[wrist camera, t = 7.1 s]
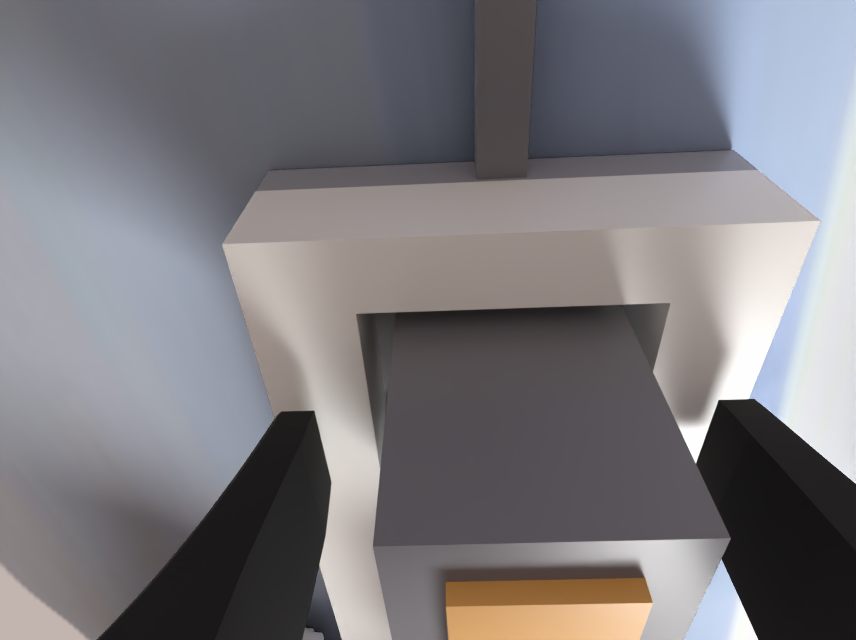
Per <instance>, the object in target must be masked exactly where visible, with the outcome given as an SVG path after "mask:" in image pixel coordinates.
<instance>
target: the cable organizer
mask: <svg viewBox="0 0 856 640" xmlns="http://www.w3.org/2000/svg"><path fill="white" fill-rule="evenodd" d="M302 640H324V636H323V634H322V633H318V632H315V631H314V629H313V628H305V630H304V635H303V639H302Z"/></svg>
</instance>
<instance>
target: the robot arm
mask: <svg viewBox="0 0 856 640" xmlns="http://www.w3.org/2000/svg"><path fill="white" fill-rule="evenodd" d="M696 465H697V467H698V469H699V471H700V474H701V476H702V478H703V480H704V482H705V484H706V486H707V489H708V491H709V493H710V495H711V497H712V499H713V501H714V503H715V506H716V508H717V510H718V512H719V514H720V516H721V518H722V521H723V523H724V525H725V527H726V529H727V531H728V533H729V535H730V538H731V539H730V541H729V543H728V546H727V548H726V550H725V552H724V554H723V556H722V561H723V563H724V565H725V567H726V570H727V572H728V574H729V576H730V578H731V581H732V583H733V585H734V587H735V589H736V592H737V594H738V596H739V598H740V600H741V602H742V605H743V607H744V609H745V611H746V613H747V616H748V618H749V620H750V622H751V624H752V626H753V629H754V631H755V633H756V635H757V637H758V640H856V484H855V483H854V482H853V481H852V480H850V479H849V478H848V477H847V476H845V475H844V474H843V473H842V472H841V471H839V470H838V469H837V468H836V467H835V466H833V465H832V464H831V463H830V462H829V461H828V460H826V459H825V458H824V457H823V456H822V455H820V454H819V453H818V452H817V451H816V450H815V449H813V448H812V447H811V446H810V445H809V444H807V443H806V442H805V441H804V440H803V439H802V438H800V437H799V436H798V435H797V434H796V433H794V432H793V431H792V430H791V429H790V428H789V427H787V426H786V425H785V424H784V423H783V422H782V421H780V420H779V419H778V418H777V417H776V416H774V415H773V414H772V413H771V412H770V411H768V410H767V409H766V408H765V407H763V406H762V405H761V404H760V403H758V402H757V401H756V400H755V399H733V400H718V403H717V406H716V409H715V411H714V414H713V417H712V420H711V423H710V425H709V428H708V431H707V434H706V436H705V439H704V442H703V445H702V447H701V450H700V453H699V456H698V459H697V461H696ZM331 483H332V482H331V478H330V474H329V469H328V465H327V461H326V457H325V453H324V449H323V444H322V440H321V436H320V432H319V428H318V424H317V419H316V415H315V411H281V412H280V413H279V414H278V415H277V416H276V418H275V419H274V421H273V422H272V424H271V425H270V427H269V428H268V430H267V431H266V433H265V434H264V436H263V437H262V438H261V440H260V441H259V443H258V444H257V446H256V447H255V449H254V450H253V452H252V453H251V455H250V456H249V457H248V459H247V460H246V462H245V463H244V465H243V466H242V467H241V469H240V470H239V472H238V473H237V474H236V476H235V477H234V479H233V480H232V481H231V483H230V484H229V485H228V487H227V488H226V489H225V491H224V492H223V493H222V495H221V496H220V497H219V499H218V500H217V501H216V503H215V504H214V505H213V507H212V508H211V509H210V511H209V512H208V513H207V515H206V516H205V517H204V519H203V520H202V521H201V522H200V524H199V525H198V526H197V527H196V529H195V530H194V531H193V532H192V533H191V535H190V536H189V537H188V538H187V540H186V541H185V542H184V543H183V544H182V546H181V547H180V548H179V549H178V551H177V552H176V553H175V554H174V555H173V557H172V558H171V559H170V560H169V562H168V563H167V564H166V565H165V566H164V567H163V569H162V570H161V571H160V572H159V573H158V574H157V575H156V577H155V578H154V579H153V580H152V581H151V582H150V583H149V585H148V586H147V587H146V588H145V589H144V590H143V591H142V592H141V594H140V595H139V596H138V597H137V598H136V599H135V600H134V601H133V602H132V603H131V604H130V605H129V607H128V608H127V609H126V610H125V611H124V612H123V613H122V614H121V615H120V616H119V617H118V618H117V619H116V621H115V622H114V623H113V624H112V625H111V626H110V627H109V628H108V629H107V630H106V631H105V632H104V633H103V634H102V635H101V636H100V637H99V638H98V639H97V640H302V639H303V635H304V630H305V626H306V621H307V617H308V613H309V608H310V604H311V599H312V595H313V591H314V586H315V582H316V577H317V573H318V568H319V564H320V559H321V555H322V550H323V546H324V541H325V536H326V529H327V520H328V512H329V502H330V492H331Z"/></svg>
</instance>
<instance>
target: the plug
mask: <svg viewBox="0 0 856 640" xmlns="http://www.w3.org/2000/svg"><path fill="white" fill-rule="evenodd" d="M730 539H731V538H730V535H729V533H728V531H727V529H726V527H725V525H724V523H723V521H722V518H721V516H720V514H719V512H718V510H717V508H716V506H715V503H714V501H713V499H712V497H711V495H710V493H709V491H708V489H707V486H706V484H705V482H704V480H703V478H702V476H701V474H700V471H699V469H698V467H697V465H696V463H695V461H694V459H693V457H692V454H691V452H690V450H689V448H688V446H687V444H686V442H685V439H684V437H683V435H682V433H681V431H680V429H679V427H678V424H677V422H676V420H675V418H674V416H673V414H672V412H671V410H670V407H669V405H668V403H667V401H666V399H665V397H664V395H663V392H662V390H661V388H660V386H659V384H658V382H657V380H656V378H655V375H654V373H653V371H652V369H651V367H650V365H649V363H648V360H647V358H646V356H645V354H644V352H643V350H642V348H641V346H640V343H639V341H638V339H637V337H636V335H635V333H634V331H633V328H632V326H631V324H630V322H629V320H628V318H627V316H626V313H625V311H624V309H623V307H622V305H596V306H567V307H537V308H508V309H479V310H449V311H420V312H396V314H395V324H394V334H393V344H392V355H391V365H390V375H389V385H388V395H387V406H386V416H385V426H384V436H383V447H382V457H381V467H380V477H379V488H378V498H377V508H376V518H375V528H374V539H373V550H374V555H375V560H376V565H377V570H378V574H379V579H380V584H381V589H382V594H383V599H384V603H385V608H386V613H387V618H388V623H389V628H390V632H391V637H392V640H684V639H685V636H686V634H687V632H688V630H689V628H690V626H691V623H692V621H693V619H694V617H695V615H696V613H697V610H698V608H699V606H700V604H701V602H702V600H703V597H704V595H705V593H706V591H707V589H708V587H709V584H710V582H711V580H712V578H713V576H714V574H715V571H716V569H717V567H718V565H719V563H720V561H721V559H722V556H723V554H724V552H725V550H726V548H727V546H728V543H729V541H730Z"/></svg>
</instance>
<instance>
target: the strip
mask: <svg viewBox="0 0 856 640" xmlns="http://www.w3.org/2000/svg"><path fill="white" fill-rule="evenodd" d="M536 12H537V0H474V161H472V162H449V163H427V164H404V165H381V166H359V167H336V168H313V169H291V170H269V171H268V172H267V174H266V175H265V177H264V179H263V180H262V182H261V183H260V185H259V186H258V188H257V190H256V191H255V193H254V194H253V196H252V198H251V199H250V201H249V202H248V204H247V205H246V207H245V209H244V210H243V212H242V213H241V215H240V216H239V218H238V220H237V221H236V223H235V224H234V226H233V228H232V229H231V231H230V232H229V234H228V235H227V237H226V239H225V240H224V242H223V243H222V246H223V250H224V253H225V256H226V259H227V263H228V266H229V269H230V273H231V276H232V279H233V283H234V286H235V289H236V292H237V296H238V299H239V302H240V306H241V309H242V312H243V315H244V319H245V322H246V325H247V329H248V332H249V335H250V338H251V342H252V345H253V348H254V352H255V355H256V358H257V362H258V365H259V368H260V371H261V375H262V378H263V381H264V385H265V388H266V391H267V394H268V398H269V401H270V404H271V408H272V411H273V414H274V417H275V418H276V416H277V415H278V414H279V413H280V412H281V411H315V415H316V419H317V424H318V428H319V432H320V436H321V440H322V444H323V449H324V453H325V457H326V461H327V465H328V469H329V474H330V478H331V482H332V483H331V492H330V502H329V512H328V520H327V529H326V536H325V541H324V546H323V550H322V555H321V559H320V564H319V566H320V569H321V572H322V575H323V579H324V582H325V585H326V589H327V592H328V595H329V599H330V602H331V605H332V608H333V612H334V615H335V618H336V622H337V625H338V628H339V631H340V635H341V638H342V640H392V637H391V632H390V628H389V623H388V618H387V613H386V608H385V603H384V599H383V594H382V589H381V584H380V579H379V574H378V570H377V565H376V560H375V555H374V550H373V539H374V528H375V518H376V508H377V498H378V488H379V477H380V467H381V457H382V447H383V436H384V426H385V416H386V406H387V395H388V385H389V375H390V365H391V355H392V344H393V334H394V324H395V314H396V312H420V311H449V310H479V309H508V308H537V307H567V306H596V305H622V307H623V309H624V311H625V313H626V316H627V318H628V320H629V322H630V324H631V326H632V328H633V331H634V333H635V335H636V337H637V339H638V341H639V343H640V346H641V348H642V350H643V352H644V354H645V356H646V358H647V360H648V363H649V365H650V367H651V369H652V371H653V373H654V375H655V378H656V380H657V382H658V384H659V386H660V388H661V390H662V392H663V395H664V397H665V399H666V401H667V403H668V405H669V407H670V410H671V412H672V414H673V416H674V418H675V420H676V422H677V424H678V427H679V429H680V431H681V433H682V435H683V437H684V439H685V442H686V444H687V446H688V448H689V450H690V452H691V454H692V457H693V459H694V461H695V463H696V461H697V459H698V456H699V453H700V450H701V447H702V445H703V442H704V439H705V436H706V434H707V431H708V428H709V425H710V423H711V420H712V417H713V414H714V411H715V409H716V406H717V403H718V400H733V399H749V396H750V394H751V391H752V389H753V387H754V384H755V382H756V379H757V377H758V374H759V372H760V369H761V367H762V364H763V362H764V359H765V357H766V354H767V352H768V350H769V347H770V345H771V342H772V340H773V337H774V335H775V332H776V330H777V327H778V325H779V322H780V320H781V317H782V315H783V312H784V310H785V308H786V305H787V303H788V300H789V298H790V295H791V293H792V290H793V288H794V285H795V283H796V280H797V278H798V275H799V273H800V271H801V268H802V266H803V263H804V261H805V258H806V256H807V253H808V251H809V248H810V246H811V243H812V241H813V238H814V236H815V233H816V231H817V229H818V226H819V224H820V220H819V219H818V218H817V217H815V216H814V215H813V214H812V213H810V212H809V211H808V210H807V209H806V208H804V207H803V206H802V205H801V204H799V203H798V202H797V201H796V200H794V199H793V198H792V197H791V196H790V195H788V194H787V193H786V192H785V191H783V190H782V189H781V188H780V187H778V186H777V185H776V184H775V183H774V182H772V181H771V180H770V179H769V178H767V177H766V176H765V175H764V174H762V173H761V172H760V171H759V170H758V169H756V168H755V167H754V166H753V165H751V164H750V163H749V162H748V161H746V160H745V159H744V158H743V157H742V156H740V155H739V154H738V153H737V152H735V151H734V150H721V151H699V152H676V153H653V154H631V155H608V156H585V157H563V158H540V159H528V149H529V132H530V115H531V98H532V80H533V63H534V46H535V29H536Z"/></svg>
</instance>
